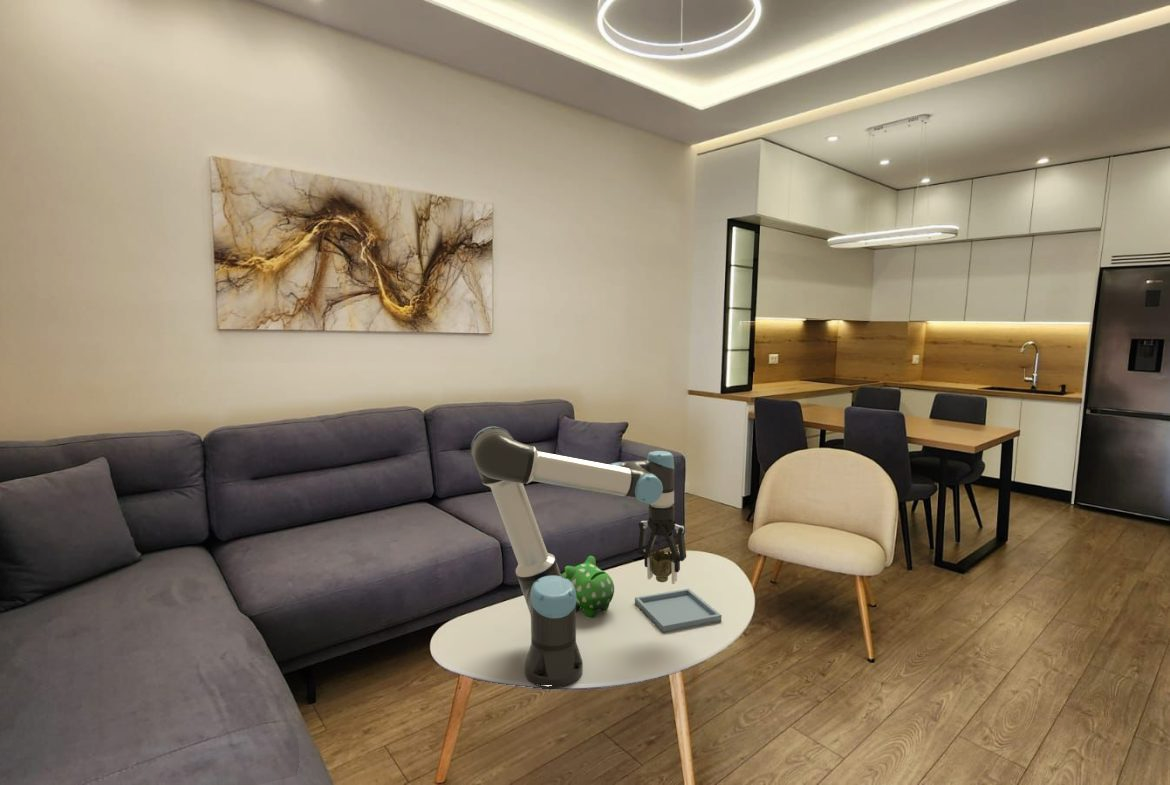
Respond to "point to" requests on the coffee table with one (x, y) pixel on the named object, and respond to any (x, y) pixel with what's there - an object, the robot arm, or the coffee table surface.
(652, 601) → the tray
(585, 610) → the piggy bank
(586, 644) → the coffee table surface
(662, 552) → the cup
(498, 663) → the coffee table surface
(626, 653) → the coffee table surface
